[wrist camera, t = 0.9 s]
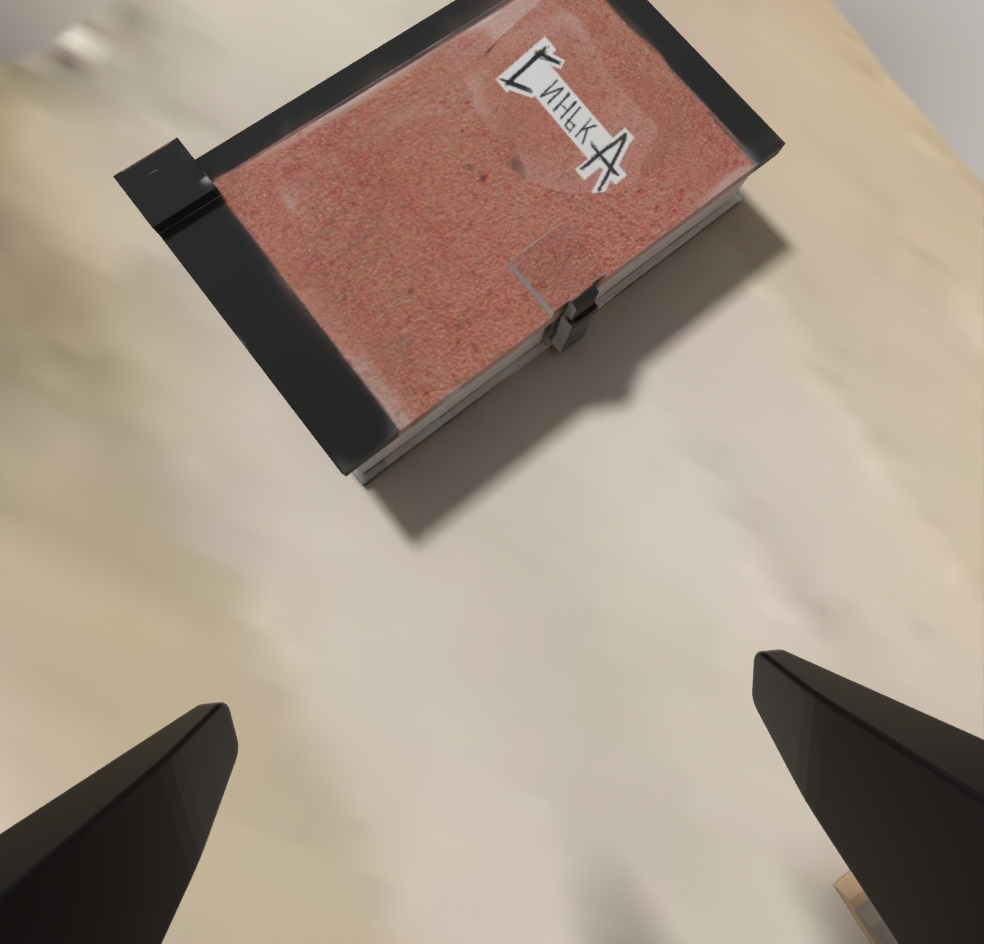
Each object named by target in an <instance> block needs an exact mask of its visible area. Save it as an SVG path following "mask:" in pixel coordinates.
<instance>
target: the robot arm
mask: <svg viewBox="0 0 984 944" xmlns="http://www.w3.org/2000/svg"><path fill="white" fill-rule="evenodd" d="M752 695H753V700H754V704H755V706H756V709H757V711H758V713H759V715H760V716H761V718H762V720H763V722H764V724H765V726H766V728H767V730H768V732H769V734H770V735H771V737H772V739H773V741H774V743H775V745H776V747H777V749H778V751H779V753H780V754H781V756H782V758H783V760H784V762H785V764H786V766H787V768H788V770H789V771H790V773H791V775H792V777H793V779H794V781H795V783H796V785H797V786H798V788H799V790H800V792H801V794H802V795H803V797H804V799H805V801H806V802H807V804H808V805H809V807H810V809H811V810H812V812H813V813H814V815H815V817H816V818H817V820H818V821H819V823H820V824H821V826H822V827H823V829H824V831H825V832H826V834H827V835H828V837H829V838H830V840H831V841H832V843H833V844H834V846H835V847H836V849H837V851H838V852H839V854H840V855H841V857H842V858H843V860H844V861H845V863H846V864H847V866H848V868H849V869H850V871H851V872H852V874H853V875H854V877H855V878H856V880H857V881H858V883H859V885H860V886H861V888H862V889H863V891H864V892H865V894H866V895H867V897H868V898H869V900H870V901H871V903H872V905H873V906H874V908H875V909H876V911H877V912H878V914H879V915H880V917H881V918H882V920H883V922H884V923H885V925H886V926H887V928H888V929H889V931H890V932H891V934H892V935H893V937H894V938H895V940H896V942H897V943H898V944H984V740H983V739H981V738H979V737H976V736H974V735H972V734H970V733H968V732H965V731H963V730H961V729H959V728H956V727H954V726H952V725H950V724H947V723H945V722H943V721H941V720H938V719H936V718H934V717H932V716H929V715H927V714H925V713H923V712H921V711H918V710H916V709H914V708H912V707H909V706H907V705H905V704H903V703H900V702H898V701H896V700H894V699H891V698H889V697H887V696H885V695H882V694H880V693H878V692H876V691H874V690H871V689H869V688H867V687H865V686H862V685H860V684H858V683H856V682H853V681H851V680H849V679H847V678H844V677H842V676H840V675H838V674H835V673H833V672H831V671H829V670H827V669H824V668H822V667H820V666H818V665H815V664H813V663H811V662H809V661H806V660H804V659H802V658H800V657H797V656H795V655H793V654H791V653H789V652H786V651H784V650H768V651H760V652H758V653H757V654H756V655H755V658H754V669H753V688H752ZM237 753H238V740H237V736H236V732H235V728H234V724H233V721H232V717H231V713H230V709H229V707H228V706H227V704H225V703H223V702H219V703H208V704H201V705H198V706H196V707H195V708H193V709H192V710H190V711H189V712H187V713H186V714H184V715H183V716H181V717H179V718H178V719H176V720H175V721H173V722H172V723H170V724H169V725H167V726H166V727H164V728H163V729H161V730H159V731H158V732H156V733H155V734H153V735H152V736H150V737H149V738H147V739H146V740H144V741H143V742H141V743H139V744H138V745H136V746H135V747H133V748H132V749H130V750H129V751H127V752H126V753H124V754H123V755H121V756H119V757H118V758H116V759H115V760H113V761H112V762H110V763H109V764H107V765H106V766H104V767H103V768H101V769H100V770H98V771H96V772H95V773H93V774H92V775H90V776H89V777H87V778H86V779H84V780H83V781H81V782H80V783H78V784H76V785H75V786H73V787H72V788H70V789H69V790H67V791H66V792H64V793H63V794H61V795H60V796H58V797H56V798H55V799H53V800H52V801H50V802H49V803H47V804H46V805H44V806H43V807H41V808H40V809H38V810H36V811H35V812H33V813H32V814H30V815H29V816H27V817H26V818H24V819H23V820H21V821H20V822H18V823H16V824H15V825H13V826H12V827H10V828H9V829H7V830H6V831H4V832H3V833H1V834H0V944H162V941H163V939H164V937H165V935H166V933H167V930H168V928H169V926H170V924H171V922H172V920H173V917H174V915H175V913H176V911H177V909H178V907H179V904H180V902H181V900H182V898H183V896H184V893H185V891H186V889H187V887H188V885H189V883H190V880H191V878H192V876H193V874H194V871H195V869H196V867H197V865H198V862H199V860H200V858H201V855H202V852H203V850H204V847H205V845H206V842H207V839H208V837H209V834H210V831H211V828H212V825H213V823H214V820H215V817H216V814H217V811H218V809H219V806H220V803H221V800H222V797H223V795H224V792H225V789H226V786H227V783H228V781H229V778H230V775H231V772H232V769H233V767H234V764H235V761H236V758H237Z"/></svg>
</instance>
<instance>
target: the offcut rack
mask: <svg viewBox="0 0 984 944" xmlns="http://www.w3.org/2000/svg"><path fill="white" fill-rule="evenodd" d="M834 886H835V888H836V889H837V891H838V893H839V894H840V896H841V897H842V899H843V900H844V902H845V903H846V905H847V907H848V908H849V910H850V911H851V913H852V914H853V916H854V917H855V919H856V921H857V922H858V924H859V925H860V927H861V928H862V930H863V931H864V933H865V935H866V936H867V938H868V939H869V941H870V942H871V944H898V943H897V942H896V940H895V938H894V937H893V935H892V934H891V932H890V931H889V929H888V928H887V926H886V925H885V923H884V922H883V920H882V918H881V917H880V915H879V914H878V912H877V911H876V909H875V908H874V906H873V905H872V903H871V901H870V900H869V898H868V897H867V895H866V894H865V892H864V891H863V889H862V888H861V886H860V885H859V883H858V881H857V880H856V878H855V877H854V875H853V874H852V872H851V871H850V872H849V873H848V874H846V875H845V876H844V877H843V878H841V879H840V880H839V881H838V882H836V883H835V884H834Z"/></svg>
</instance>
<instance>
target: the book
mask: <svg viewBox="0 0 984 944" xmlns="http://www.w3.org/2000/svg"><path fill="white" fill-rule="evenodd" d="M784 145H785V142H784V141H783V140H782V139H781V138H780V137H779V136H778V135H777V134H776V133H775V132H774V131H773V130H772V129H771V128H770V127H769V126H768V125H767V124H766V123H765V122H764V121H763V119H762V118H761V117H760V116H759V115H758V114H757V113H756V112H755V111H754V110H753V109H752V108H751V107H750V106H749V105H748V104H747V103H746V102H745V101H744V100H743V99H742V98H741V97H740V96H739V95H738V94H737V93H736V92H735V90H734V89H733V88H732V87H731V86H730V85H729V84H728V83H727V82H726V81H725V80H724V79H723V78H722V77H721V76H720V75H719V74H718V73H717V72H716V71H715V70H714V69H713V68H712V67H711V66H710V65H709V64H708V62H707V61H706V60H705V59H704V58H703V57H702V56H701V55H700V54H699V53H698V52H697V51H696V50H695V49H694V48H693V47H692V46H691V45H690V44H689V43H688V42H687V41H686V40H685V39H684V38H683V37H682V36H681V35H680V33H679V32H678V31H677V30H676V29H675V28H674V27H673V26H672V25H671V24H670V23H669V22H668V21H667V20H666V19H665V18H664V17H663V16H662V15H661V14H660V13H659V12H658V11H657V10H656V9H655V8H654V7H653V5H652V4H651V3H650V2H649V1H648V0H455V1H453V2H452V3H450V4H449V5H447V6H445V7H444V8H442V9H440V10H439V11H437V12H435V13H434V14H432V15H431V16H429V17H427V18H426V19H424V20H422V21H421V22H419V23H418V24H416V25H414V26H413V27H411V28H409V29H408V30H406V31H404V32H403V33H401V34H400V35H398V36H396V37H395V38H393V39H391V40H390V41H388V42H387V43H385V44H383V45H382V46H380V47H378V48H377V49H375V50H373V51H372V52H370V53H369V54H367V55H365V56H364V57H362V58H360V59H359V60H357V61H356V62H354V63H352V64H351V65H349V66H347V67H346V68H344V69H342V70H341V71H339V72H338V73H336V74H334V75H333V76H331V77H329V78H328V79H326V80H325V81H323V82H321V83H320V84H318V85H316V86H315V87H313V88H311V89H310V90H308V91H307V92H305V93H303V94H302V95H300V96H298V97H297V98H295V99H294V100H292V101H290V102H289V103H287V104H285V105H284V106H282V107H280V108H279V109H277V110H276V111H274V112H272V113H271V114H269V115H267V116H266V117H264V118H263V119H261V120H259V121H258V122H256V123H254V124H253V125H251V126H249V127H248V128H246V129H245V130H243V131H241V132H240V133H238V134H236V135H235V136H233V137H232V138H230V139H228V140H227V141H225V142H223V143H222V144H220V145H218V146H217V147H215V148H214V149H212V150H210V151H209V152H207V153H205V154H204V155H202V156H201V157H199V158H197V159H196V160H195V159H194V158H193V157H192V156H191V154H190V153H189V152H188V151H187V149H186V148H185V147H184V146H183V144H182V143H181V142H180V140H179V139H178V138H176V139H174V140H172V141H171V142H169V143H167V144H166V145H164V146H163V147H161V148H159V149H158V150H156V151H154V152H153V153H151V154H149V155H148V156H146V157H144V158H143V159H141V160H139V161H138V162H136V163H134V164H133V165H131V166H129V167H128V168H126V169H124V170H123V171H121V172H119V173H118V174H116V175H114V176H113V177H114V178H115V179H116V181H117V182H118V183H119V185H120V186H121V187H122V189H123V190H124V191H125V192H126V194H127V195H128V196H129V198H130V199H131V200H132V202H133V203H134V204H135V206H136V207H137V208H138V209H139V211H140V212H141V213H142V215H143V216H144V217H145V219H146V220H147V221H148V223H149V224H150V225H151V226H152V228H153V229H154V230H155V231H156V232H157V233H158V234H159V235H160V236H161V237H162V239H163V240H164V241H165V243H166V244H167V245H168V247H169V248H170V249H171V251H172V252H173V253H174V254H175V256H176V257H177V258H178V260H179V261H180V262H181V264H182V265H183V266H184V268H185V269H186V270H187V271H188V273H189V274H190V275H191V277H192V278H193V279H194V281H195V282H196V283H197V285H198V286H199V287H200V288H201V290H202V291H203V292H204V294H205V295H206V296H207V298H208V299H209V300H210V302H211V303H212V304H213V306H214V307H215V308H216V309H217V311H218V312H219V313H220V315H221V316H222V317H223V319H224V320H225V321H226V323H227V324H228V325H229V326H230V328H231V329H232V330H233V332H234V333H235V334H236V336H237V337H238V338H239V340H240V341H241V342H242V343H243V345H244V346H245V347H246V349H247V350H248V351H249V353H250V354H251V355H252V357H253V358H254V359H255V360H256V362H257V363H258V364H259V366H260V367H261V368H262V370H263V371H264V372H265V374H266V375H267V376H268V377H269V379H270V380H271V381H272V383H273V384H274V385H275V387H276V388H277V389H278V391H279V392H280V393H281V394H282V396H283V397H284V398H285V400H286V401H287V402H288V404H289V405H290V406H291V408H292V409H293V410H294V411H295V413H296V414H297V415H298V417H299V418H300V419H301V421H302V422H303V423H304V425H305V426H306V427H307V428H308V430H309V431H310V432H311V434H312V435H313V436H314V438H315V439H316V440H317V442H318V443H319V444H320V445H321V447H322V448H323V449H324V451H325V452H326V453H327V455H328V456H329V457H330V459H331V460H332V461H333V462H334V464H335V465H336V466H337V468H338V469H339V470H340V472H341V473H342V474H343V475H345V476H347V475H349V474H350V473H351V472H352V473H353V474H354V476H355V477H356V478H357V480H358V481H359V482H360V483H361V485H362V486H365V485H366V484H368V483H369V482H370V481H372V480H373V479H374V478H376V477H377V476H378V475H380V474H381V473H382V472H384V471H385V470H386V469H388V468H389V467H390V466H392V465H393V464H394V463H395V462H397V461H398V460H399V459H401V458H402V457H403V456H405V455H406V454H407V453H409V452H410V451H411V450H413V449H414V448H415V447H417V446H418V445H419V444H421V443H422V442H423V441H425V440H426V439H427V438H429V437H430V436H431V435H433V434H434V433H435V432H437V431H438V430H439V429H441V428H442V427H443V426H445V425H446V424H447V423H448V422H450V421H451V420H452V419H454V418H455V417H456V416H458V415H459V414H460V413H462V412H463V411H464V410H466V409H467V408H468V407H470V406H471V405H472V404H474V403H475V402H476V401H478V400H479V399H480V398H482V397H483V396H484V395H486V394H487V393H488V392H490V391H491V390H492V389H494V388H495V387H496V386H498V385H499V384H500V383H501V382H503V381H504V380H505V379H507V378H508V377H509V376H511V375H512V374H513V373H515V372H516V371H517V370H519V369H520V368H521V367H523V366H524V365H525V364H527V363H528V362H529V361H531V360H532V359H533V358H535V357H536V356H537V355H539V354H540V353H541V352H543V351H544V350H545V349H547V348H548V347H549V346H550V345H553V346H554V347H555V348H556V349H557V351H558V352H559V353H561V352H563V351H564V350H565V349H567V348H568V347H569V346H570V345H572V344H573V343H574V342H576V341H577V340H578V339H580V338H581V337H582V336H584V334H585V332H586V330H587V328H588V326H589V324H590V322H591V320H592V318H593V316H594V315H595V313H596V311H597V310H598V309H600V308H601V307H602V306H603V305H605V304H606V303H607V302H609V301H610V300H611V299H613V298H614V297H615V296H617V295H618V294H619V293H621V292H622V291H623V290H625V289H626V288H627V287H629V286H630V285H631V284H633V283H634V282H635V281H637V280H638V279H639V278H641V277H642V276H643V275H645V274H646V273H647V272H649V271H650V270H651V269H653V268H654V267H655V266H656V265H658V264H659V263H660V262H662V261H663V260H664V259H666V258H667V257H668V256H670V255H671V254H672V253H674V252H675V251H676V250H678V249H679V248H680V247H682V246H683V245H684V244H686V243H687V242H688V241H690V240H691V239H692V238H694V237H695V236H696V235H698V234H699V233H700V232H702V231H703V230H704V229H705V228H707V227H708V226H709V225H711V224H712V223H713V222H715V221H716V220H717V219H719V218H720V217H721V216H723V215H724V214H725V213H727V212H728V211H729V210H731V209H732V208H733V207H735V206H736V205H737V204H739V203H740V202H741V201H742V199H743V198H742V197H741V196H740V195H739V194H738V193H737V191H738V190H739V188H740V187H741V185H742V184H743V183H744V181H745V180H746V179H747V177H748V176H749V175H750V174H752V173H753V172H754V171H756V170H757V169H758V168H760V167H761V166H762V165H764V164H765V163H766V162H768V161H769V160H770V159H772V158H773V157H774V156H776V155H777V154H778V153H779V151H780V150H781V149H782V147H783V146H784Z"/></svg>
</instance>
